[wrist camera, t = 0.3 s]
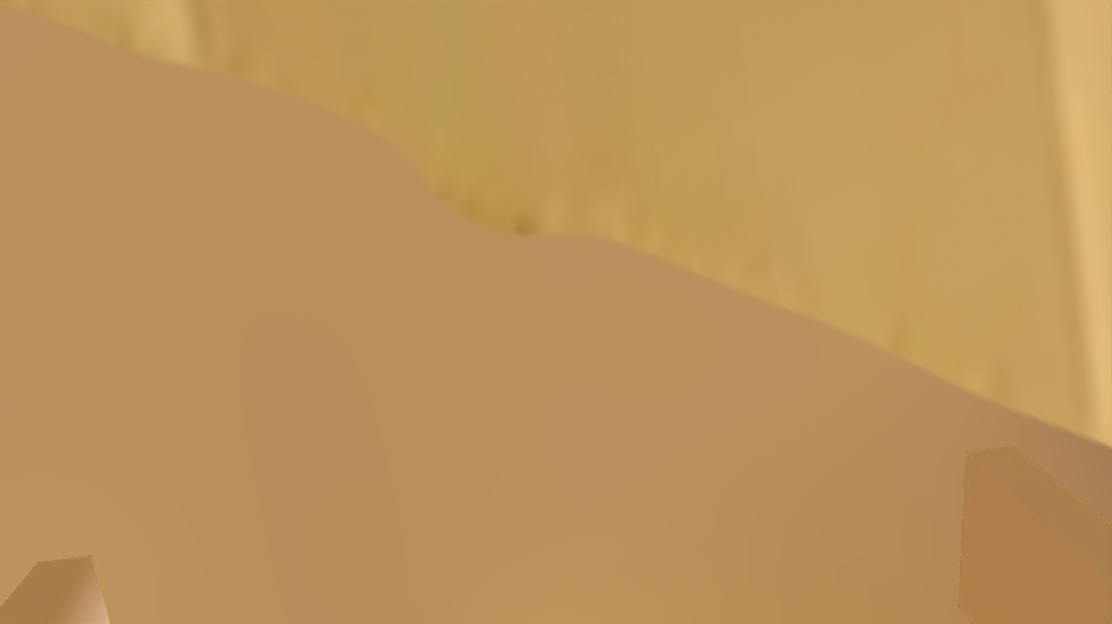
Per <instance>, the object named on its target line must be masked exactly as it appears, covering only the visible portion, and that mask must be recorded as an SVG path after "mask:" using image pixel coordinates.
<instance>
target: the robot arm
mask: <svg viewBox="0 0 1112 624" xmlns="http://www.w3.org/2000/svg"><path fill="white" fill-rule="evenodd" d="M963 500H964V501H963V521H962V541H961V561H960V583H959V603H958V606H959V608H960V609H961V610H962V611H963V613H964V614H965V615H966V616H967V617H968V619H969V620H970V621H971V622H972V624H1112V524H1111V523H1110V522H1109V521H1108V520H1106V519H1105V518H1104V517H1103V516H1101V515H1100V514H1099V513H1097V512H1096V511H1095V510H1094V509H1093V508H1091V507H1090V506H1089V505H1088V504H1086V503H1085V502H1084V501H1083V500H1081V499H1080V498H1079V497H1078V496H1076V495H1075V494H1074V493H1072V492H1071V491H1070V490H1069V489H1068V488H1066V487H1065V486H1064V485H1063V484H1061V483H1060V482H1059V481H1058V480H1056V479H1055V478H1054V477H1053V476H1051V475H1050V474H1049V473H1048V472H1046V471H1045V470H1044V469H1043V468H1041V467H1040V466H1039V465H1037V464H1036V463H1035V462H1034V461H1033V460H1031V459H1030V458H1029V457H1028V456H1026V455H1025V454H1024V453H1022V452H1021V451H1020V450H1019V449H1018V448H1016V447H1015V446H1012V447H1003V448H995V449H986V450H979V451H970V452H966V458H965V479H964V498H963ZM0 624H110V622H109V618H108V615H107V611H106V607H105V604H104V600H103V597H102V593H101V590H100V586H99V583H98V579H97V576H96V572H95V569H94V565H93V562H92V558H91V556H88V557H78V558H71V559H62V560H53V561H46V562H38V563H37V564H36V565H35V566H34V567H33V569H32V570H31V571H30V572H29V574H28V575H27V576H26V577H25V578H24V580H23V581H22V582H21V583H20V584H19V586H18V587H17V588H16V589H15V591H14V592H13V593H12V594H11V595H10V596H9V598H8V599H7V600H6V601H5V602H4V604H3V605H2V606H1V607H0Z"/></svg>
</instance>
